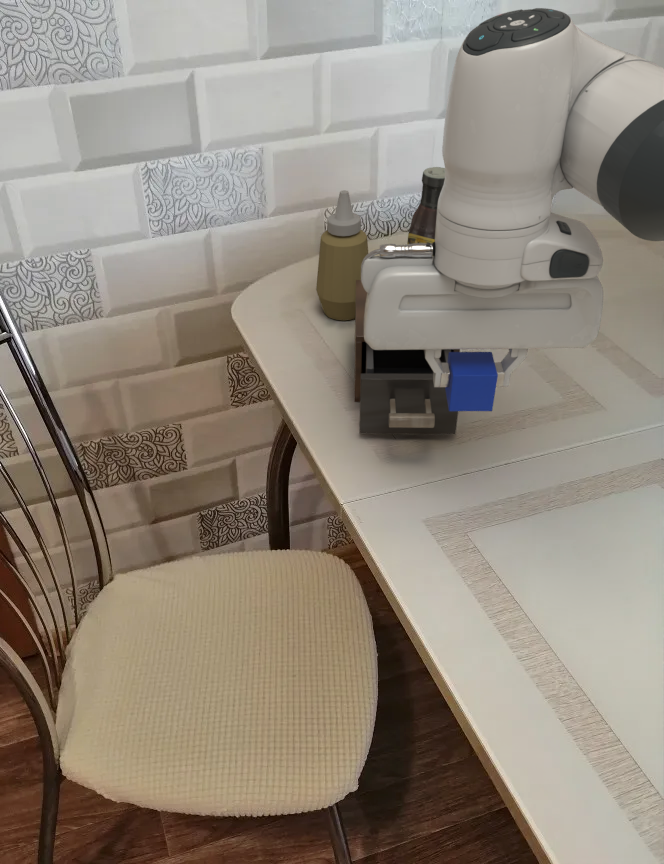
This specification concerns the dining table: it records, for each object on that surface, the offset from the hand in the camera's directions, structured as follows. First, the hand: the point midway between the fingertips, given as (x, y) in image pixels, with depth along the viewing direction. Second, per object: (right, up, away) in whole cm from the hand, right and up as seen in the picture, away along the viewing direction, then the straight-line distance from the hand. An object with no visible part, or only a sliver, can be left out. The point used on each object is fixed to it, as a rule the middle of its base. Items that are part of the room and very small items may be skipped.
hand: (470, 383), depth 74 cm
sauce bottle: (+3, +18, +46) cm, 49 cm away
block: (0, -1, +1) cm, 2 cm away
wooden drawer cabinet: (-2, +6, +32) cm, 33 cm away
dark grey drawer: (-3, 0, +24) cm, 24 cm away
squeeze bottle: (-9, +17, +45) cm, 49 cm away
